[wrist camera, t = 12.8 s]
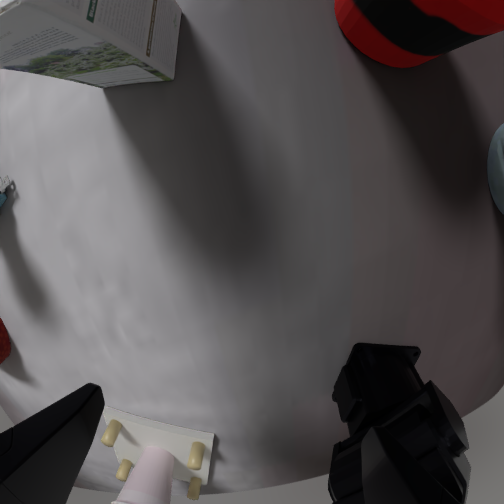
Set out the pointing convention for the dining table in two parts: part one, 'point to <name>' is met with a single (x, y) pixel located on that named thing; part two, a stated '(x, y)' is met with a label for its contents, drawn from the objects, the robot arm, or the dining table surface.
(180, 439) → the pin plate
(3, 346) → the canned food
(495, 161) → the teal cylindrical pot
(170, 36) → the syrup box
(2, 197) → the push button
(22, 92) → the dining table surface
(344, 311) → the dining table surface
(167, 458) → the smoothie
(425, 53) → the soda can
